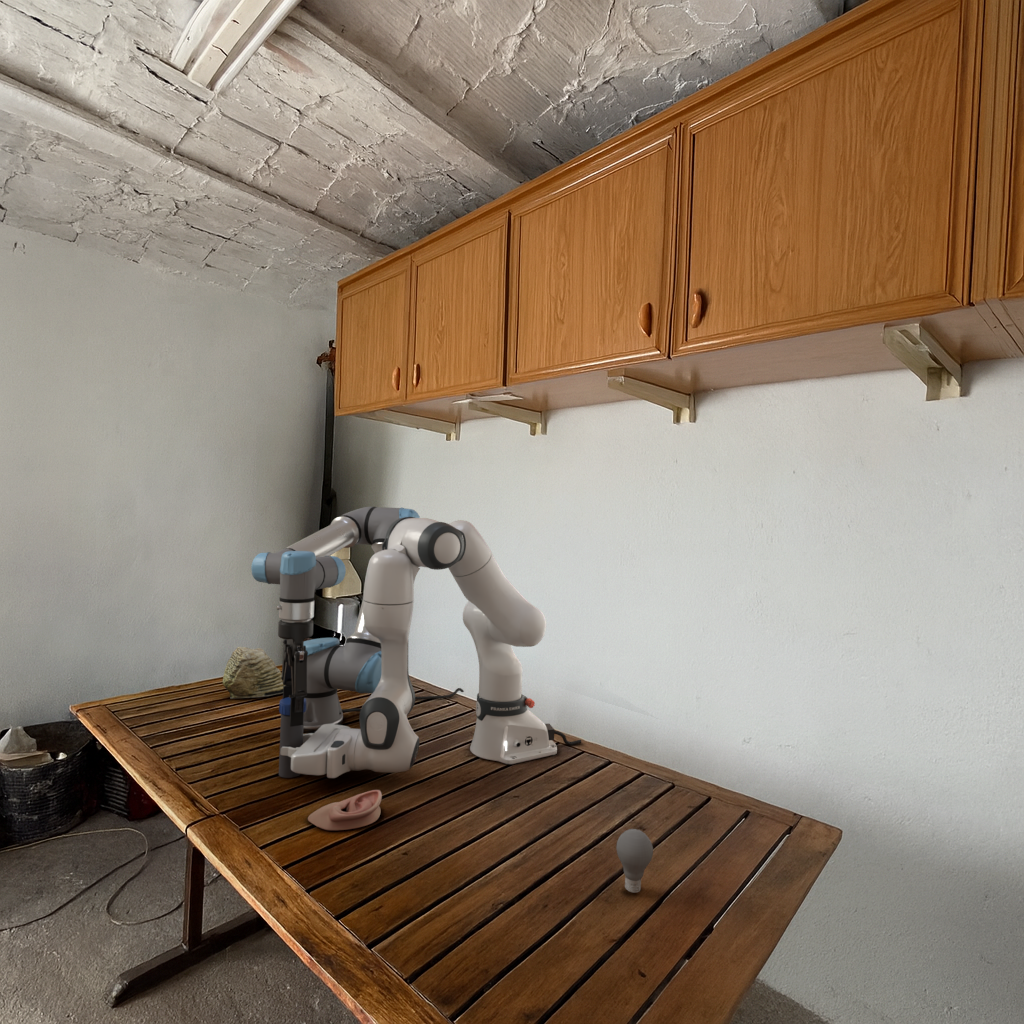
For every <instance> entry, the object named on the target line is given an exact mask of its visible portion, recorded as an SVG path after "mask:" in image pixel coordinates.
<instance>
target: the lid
mask: <svg viewBox="0 0 1024 1024" xmlns="http://www.w3.org/2000/svg"><path fill="white" fill-rule="evenodd" d="M290 704H291V698H289V697H288V698H284V699H283V698H281V699H280V700H279V703H278V712H279V714H280V715H281V714H283V715H290ZM305 711H306V699H305V698H304V711H303V713H304V712H305Z"/></svg>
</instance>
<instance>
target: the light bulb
mask: <svg viewBox="0 0 1024 1024" xmlns="http://www.w3.org/2000/svg"><path fill="white" fill-rule="evenodd" d="M615 849H616V854H617V857H618V859H619V861H620V863H621V865H622V867H623V873H624V874H623V875H624V876H625V878H624V888H625V890H627V891H628V892H630V893H634V894H635V893H639V892H640V891H641V889H642V887H641V886H642V879H643V877H644V875H645V871H646V868H647V867H648V866H649V864H650V863H651V861H652V859H653V855H654V847H653V843H652V841H651V838H649V836H648V835H647V834H646V833H645V832H643V831H642V830H641V829H636V828H629V829H627V830H625V831H623V832H622V833H621V834H620V835H619V837H618V839H617V841H616V847H615Z"/></svg>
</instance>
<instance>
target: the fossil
mask: <svg viewBox="0 0 1024 1024" xmlns="http://www.w3.org/2000/svg"><path fill="white" fill-rule="evenodd" d="M222 676H223V677H222V685H223V687H224V688H225V690H226V691H228V693H229V698H230V699H250V698H264V697H271V696H275V695H281V694H283V686H285V685H283V680H282V679H281V677H282V671H281V669H279V668H278V667H277V665H276V663H275V662H274V660H273V659H272V658H271V657H270V656H269V655H268V654H267V653H266V652H265V650H264V649H263V648H260V647H258V648H251V647H247V646H246V647H245V646H238V647H237V648H236V649H235V650H233V651H232V653H231V656H230V657H229V659H228V660H227V663H226V666H225V668H224V671H223V675H222Z"/></svg>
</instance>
